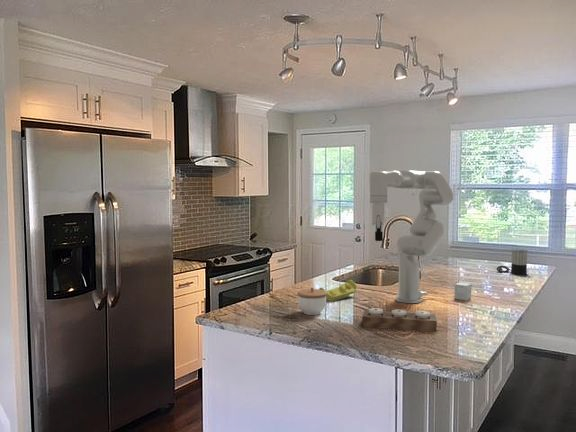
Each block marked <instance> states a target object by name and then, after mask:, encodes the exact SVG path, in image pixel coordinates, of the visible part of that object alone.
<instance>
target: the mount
mask: <svg viewBox="0 0 576 432" xmlns="http://www.w3.org/2000/svg"><path fill="white" fill-rule="evenodd" d="M361 317H362V318H361V319H362V321H361V323H362V325H361V326H362V327H365V328H381V329H395V330H408V331H409V330H410V331H411V330H412V331H421V332H423V331H424V332H426V331H427V332H437V325H438V323H437V322H438V320H437V316H436V313H430V317H429V319H421V318H417V316H415V312H407V311H406V315H405V317H393V315H392V310H391V311H387V310H383V314H382V316H373V315H370V313H369V309H364V310H363V313H362V316H361Z"/></svg>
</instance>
